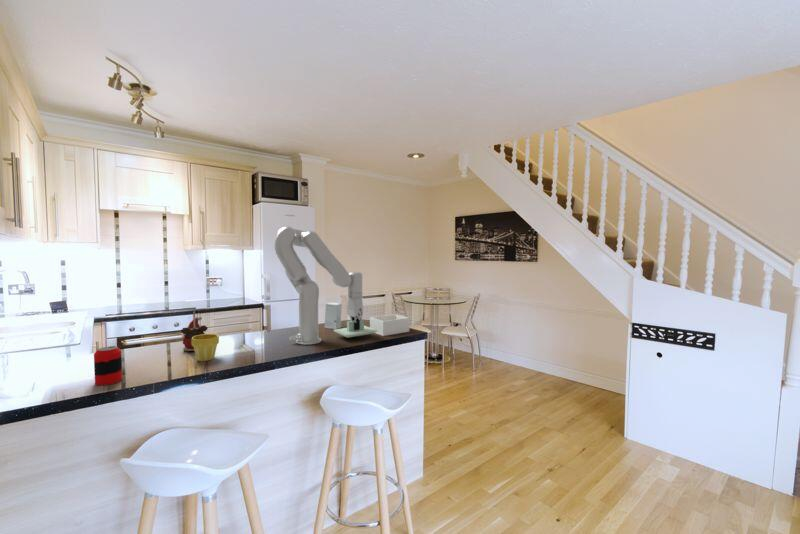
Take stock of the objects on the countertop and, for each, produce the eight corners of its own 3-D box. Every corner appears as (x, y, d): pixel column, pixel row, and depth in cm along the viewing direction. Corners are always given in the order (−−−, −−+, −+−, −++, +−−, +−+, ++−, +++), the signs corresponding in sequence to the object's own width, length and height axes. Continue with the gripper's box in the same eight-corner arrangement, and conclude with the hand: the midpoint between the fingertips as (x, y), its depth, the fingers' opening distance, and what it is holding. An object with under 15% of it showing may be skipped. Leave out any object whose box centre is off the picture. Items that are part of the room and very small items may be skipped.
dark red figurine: (183, 353, 163) (182, 314, 162) (180, 349, 170) (179, 311, 169) (209, 349, 169) (209, 311, 168) (205, 345, 177) (204, 308, 176)
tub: (383, 335, 198) (383, 321, 197) (369, 330, 209) (369, 317, 209) (409, 331, 208) (409, 317, 208) (395, 327, 220) (395, 314, 219)
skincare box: (324, 328, 215) (324, 303, 214) (329, 326, 221) (329, 302, 220) (336, 329, 212) (336, 304, 211) (341, 327, 218) (341, 302, 217)
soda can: (127, 377, 133) (126, 345, 132) (111, 385, 125) (110, 351, 124) (106, 377, 132) (105, 345, 132) (89, 385, 125) (87, 351, 124)
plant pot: (224, 356, 159) (224, 334, 158) (206, 363, 149) (205, 340, 149) (205, 354, 162) (204, 332, 161) (186, 361, 152) (185, 338, 151)
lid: (346, 338, 183) (346, 325, 183) (333, 332, 195) (333, 320, 195) (377, 333, 194) (377, 320, 194) (363, 328, 206) (363, 316, 205)
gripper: (342, 293, 198) (342, 327, 199) (356, 297, 185) (356, 333, 186) (354, 292, 202) (354, 325, 203) (369, 296, 189) (369, 331, 190)
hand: (355, 328), depth 194 cm, fingers closed on lid, 2 cm apart
